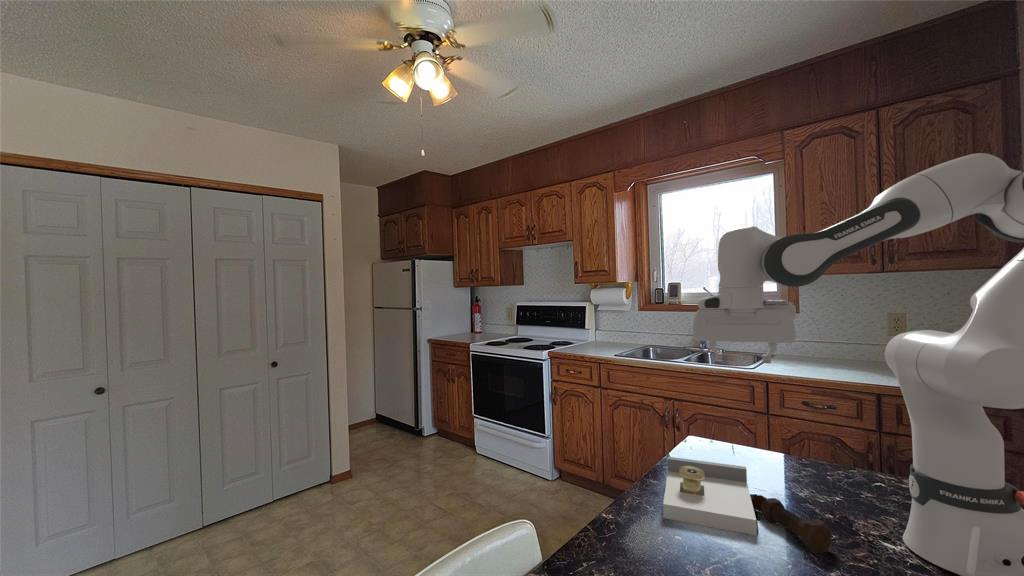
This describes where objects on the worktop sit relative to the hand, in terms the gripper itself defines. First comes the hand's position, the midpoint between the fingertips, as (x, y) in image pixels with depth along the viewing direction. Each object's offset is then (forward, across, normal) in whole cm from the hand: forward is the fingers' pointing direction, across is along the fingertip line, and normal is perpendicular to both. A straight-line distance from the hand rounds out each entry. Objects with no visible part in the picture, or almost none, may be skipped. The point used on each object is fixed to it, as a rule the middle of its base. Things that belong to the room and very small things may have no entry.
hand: (742, 361), depth 93 cm
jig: (+31, +8, +5) cm, 32 cm away
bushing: (+31, +11, +5) cm, 33 cm away
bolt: (+32, -6, +9) cm, 34 cm away
